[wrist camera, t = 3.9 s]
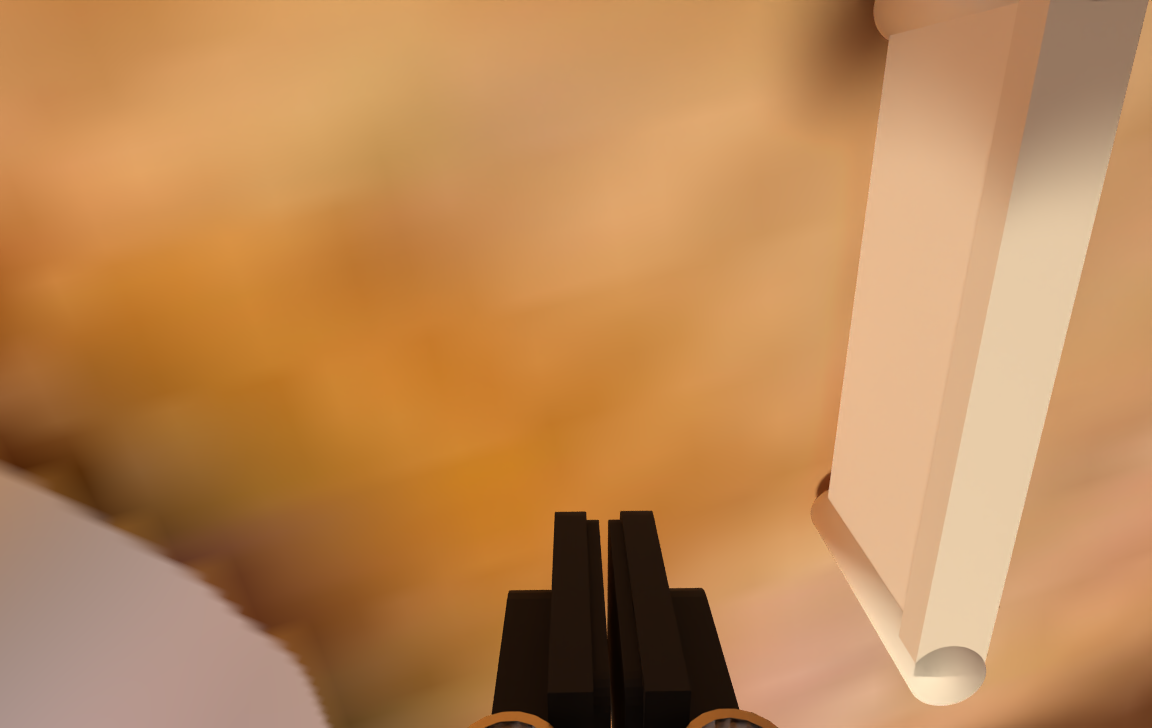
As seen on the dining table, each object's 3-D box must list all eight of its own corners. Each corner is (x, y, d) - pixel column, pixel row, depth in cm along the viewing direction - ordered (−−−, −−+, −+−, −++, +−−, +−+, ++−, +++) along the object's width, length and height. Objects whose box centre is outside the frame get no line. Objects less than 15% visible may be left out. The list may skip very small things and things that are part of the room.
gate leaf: (949, -34, 19) (1185, -129, 12) (860, 533, 26) (977, 705, 18) (878, -33, 19) (1070, -128, 12) (808, 533, 26) (903, 705, 18)
